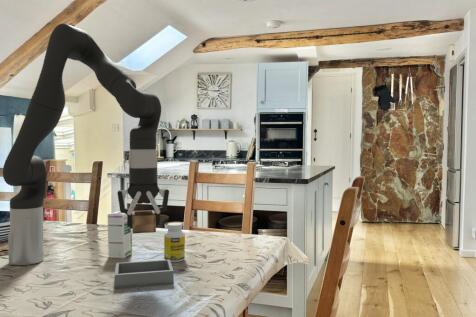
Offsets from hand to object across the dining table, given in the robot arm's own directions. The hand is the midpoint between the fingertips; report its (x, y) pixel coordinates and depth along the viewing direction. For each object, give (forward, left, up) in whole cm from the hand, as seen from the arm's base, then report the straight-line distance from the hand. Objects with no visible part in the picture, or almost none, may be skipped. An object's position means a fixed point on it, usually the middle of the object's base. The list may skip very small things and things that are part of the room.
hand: (143, 227), depth 113 cm
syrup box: (-7, +26, -15) cm, 31 cm away
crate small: (0, 0, -1) cm, 1 cm away
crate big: (0, 0, -14) cm, 14 cm away
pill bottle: (+10, +17, -15) cm, 24 cm away
